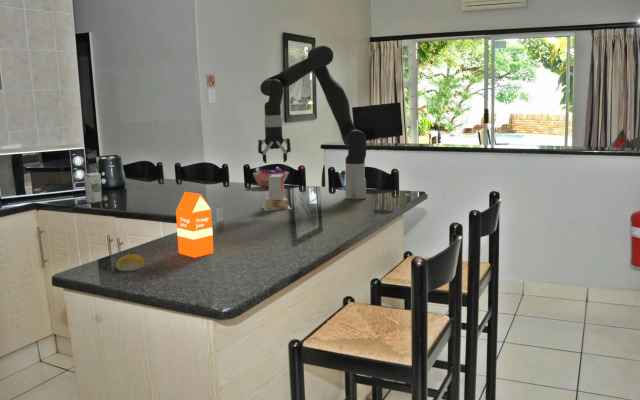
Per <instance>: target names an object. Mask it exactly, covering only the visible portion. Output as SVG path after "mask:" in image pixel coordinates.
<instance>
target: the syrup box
mask: <svg viewBox="0 0 640 400" xmlns="http://www.w3.org/2000/svg"><path fill="white" fill-rule="evenodd" d="M101 178H102V175H101V173H99V172H89V173H84V174H83V180H84V181H83V182H84V192H85V194H84V195H85V202H86V203H87V204H88V203H89V204H95V203H101V202H103V190H102V179H101Z"/></svg>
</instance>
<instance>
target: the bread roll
mask: <svg viewBox="0 0 640 400" xmlns="http://www.w3.org/2000/svg"><path fill="white" fill-rule="evenodd" d="M144 267H145V259H144V258H143V257H142V256H140V255H139V254H135V253H128V254H125V255H124V256H122V257H120V258H118V259H117V261H116V262H115V268H116V269H117V270H118V271H121V272H132V271H137V270H141V269H142V268H144Z"/></svg>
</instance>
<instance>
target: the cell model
mask: <svg viewBox="0 0 640 400" xmlns="http://www.w3.org/2000/svg"><path fill="white" fill-rule="evenodd" d="M289 174H290V172H289V171H287V170H282V169H281V167H279V166H275V168H274V169H264V168H263V169H261V170H259V171H255V172H253V173H252V175H253V178H254V179H255V182H256V183H257V184H258V185H260V186H261V187H264V188H269V181H268V177H270V176H271V175H284V182H285V181H286V179H287V178H288V175H289Z"/></svg>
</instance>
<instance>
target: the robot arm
mask: <svg viewBox="0 0 640 400" xmlns="http://www.w3.org/2000/svg"><path fill="white" fill-rule="evenodd" d="M333 59H334V52H333V49H332V48H331V47H330V46H328V45H319V46H316V47H314V48H310V50H308V52H307V58H305V59H302V60H301V61H299V62H297V63H294V64H292V65H290V66H288V67H287V68H286V69H284V70H282V71H281V72H279V73H276V74H275V75H273V76H270V77H268V78H266V79H264V80H263V81H262V83H261V84H260V86H259V87H260V88H259V89H260V92H261V94H263V95H264V96H266V97H268V101H267V102H265V103H264V139H258V141H257V145H258V146H257V153H259V154H260V155H262V161H263V163H264V164H267V153H268V151H269V150H274V149H276V150H278V149H280V150H281V151H282V160H283V163H286V161H287V160H288V153H290V152H291V151H292V149H291V140H290V138H288V137H286V138H283V121H282V114H281V113H282V111H281V110H282V108H281V104H282V100H283V95H284V88H288V87H290V86H292V85H294V84H295V83H296V82H298V81H299V80H301V79H302V78H304V77H305V76H307V75H308V74H310V73H311V72H313V73H314V75H315V77H316V79H317V80H318V83H319V85H320V88H321V90H322V91H323V94H324V96H325V99H326V101H327V103H328V106H329V108H330V111H331V113H332V115H333V117H334V119H335V122H336V124H337V126H338V129H339V132H340V136H341V138H342V142H343V144H344V145H345V146H346V147H347V148H348V149H347V155H346V157H345V198H346V199H348V200H362V199H363V200H364V199H367V179H366V178H365V177H366V175H365V173H366V172H365V171H366V169H365V164H366V162H365V160H366V156H367V137H366V134H365V133H364V132H363V131H362V130H359V129H357V128H356V127H355V124H354V123H353V120H352V117H351V112H350V111H351V110H350V109H351V108H350V103H349V99H348V97H347V95H346V92H345V90H344V88H343V87H342V85H341V84H340V83H339V82H338V81H337V80H336V79H335V78H334V77H333V75H331V73H330V72H329V69H328V67H327V66H328V65H330V64H331V63H332V61H333ZM264 143H265V145H266V146H265V147H264V149H262V148H263V147H262V146H263V145H264ZM283 143H284V144H286V149H285V147H283ZM287 162H288V161H287Z"/></svg>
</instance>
